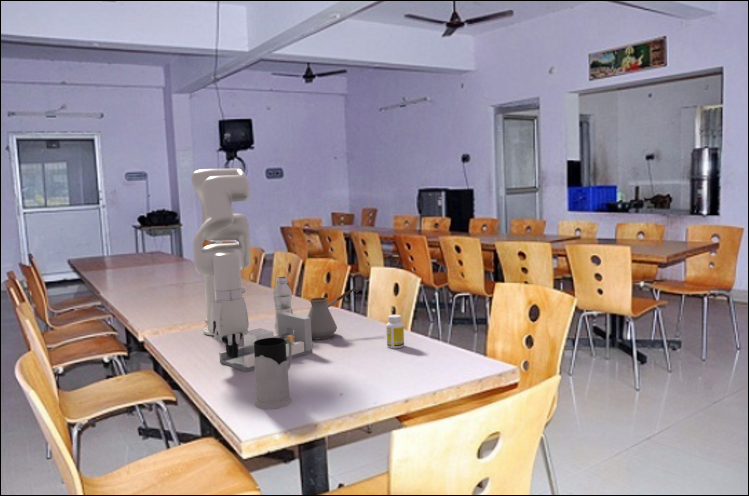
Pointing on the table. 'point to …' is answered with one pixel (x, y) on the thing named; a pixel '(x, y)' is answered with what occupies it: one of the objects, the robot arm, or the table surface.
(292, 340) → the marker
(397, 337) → the supplement bottle
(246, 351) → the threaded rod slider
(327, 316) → the coffee pot
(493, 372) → the table surface
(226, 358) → the track
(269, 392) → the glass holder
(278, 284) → the plastic bottle
